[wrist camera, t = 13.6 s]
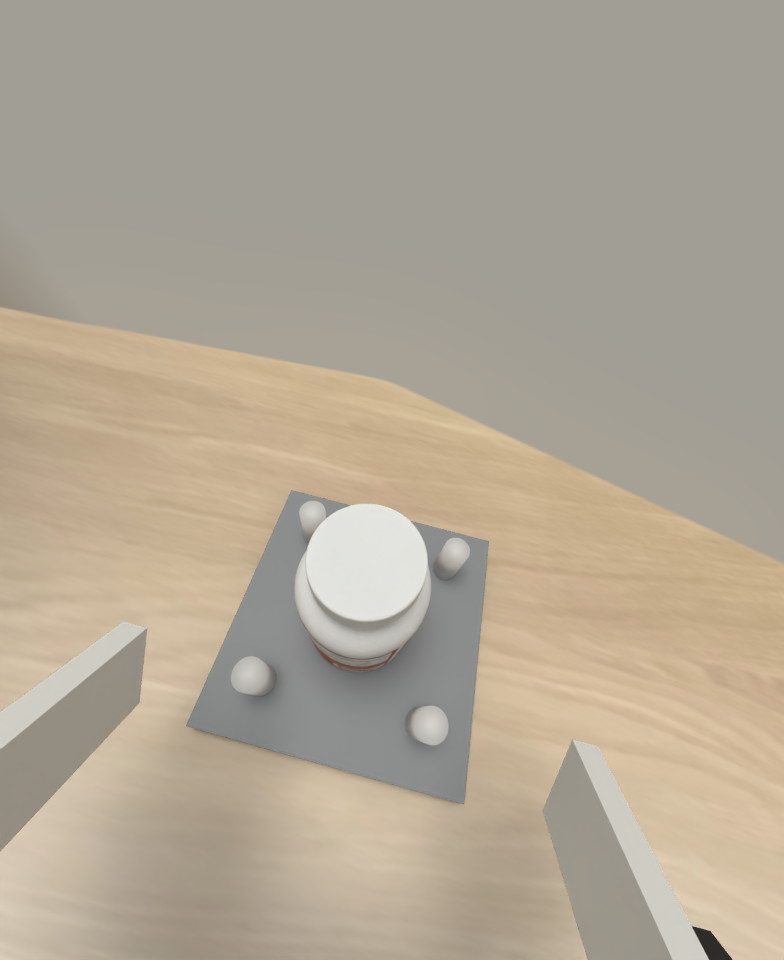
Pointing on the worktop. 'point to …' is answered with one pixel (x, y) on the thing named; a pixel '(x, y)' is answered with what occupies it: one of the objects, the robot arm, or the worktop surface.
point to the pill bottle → (363, 586)
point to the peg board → (347, 695)
